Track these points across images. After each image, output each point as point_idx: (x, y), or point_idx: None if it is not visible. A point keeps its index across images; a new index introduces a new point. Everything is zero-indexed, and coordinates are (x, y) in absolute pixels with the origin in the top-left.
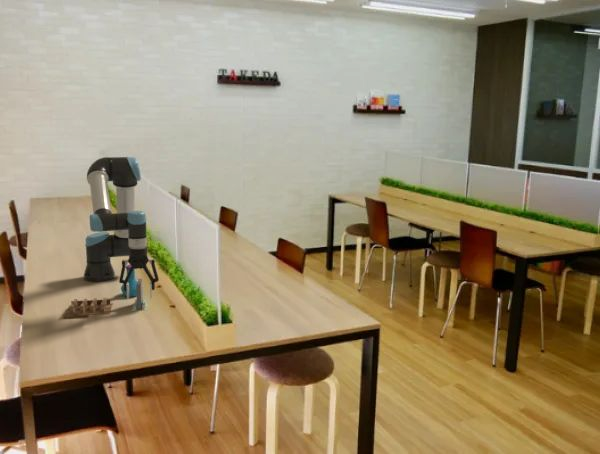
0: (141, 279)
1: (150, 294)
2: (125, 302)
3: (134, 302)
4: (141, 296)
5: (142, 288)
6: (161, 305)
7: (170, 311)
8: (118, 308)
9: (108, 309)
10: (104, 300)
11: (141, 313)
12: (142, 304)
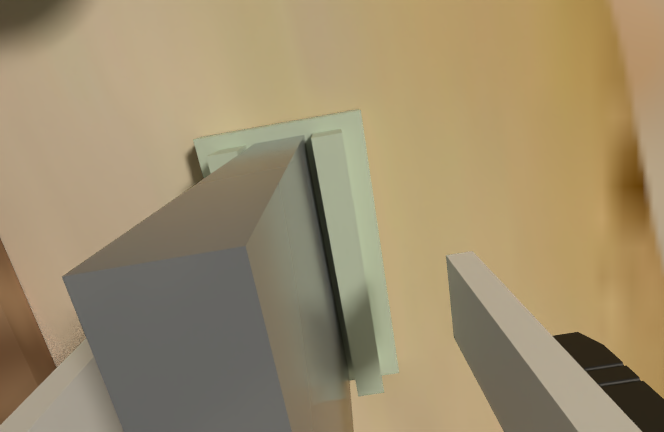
0: (254, 364)
1: (476, 369)
2: (63, 52)
3: (198, 141)
4: (344, 415)
5: (291, 182)
6: (520, 160)
7: (619, 334)
8: (79, 263)
9: (15, 384)
10: None
11: (354, 386)
12: (349, 346)
